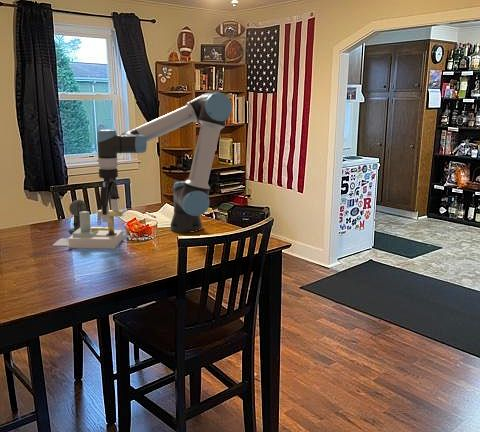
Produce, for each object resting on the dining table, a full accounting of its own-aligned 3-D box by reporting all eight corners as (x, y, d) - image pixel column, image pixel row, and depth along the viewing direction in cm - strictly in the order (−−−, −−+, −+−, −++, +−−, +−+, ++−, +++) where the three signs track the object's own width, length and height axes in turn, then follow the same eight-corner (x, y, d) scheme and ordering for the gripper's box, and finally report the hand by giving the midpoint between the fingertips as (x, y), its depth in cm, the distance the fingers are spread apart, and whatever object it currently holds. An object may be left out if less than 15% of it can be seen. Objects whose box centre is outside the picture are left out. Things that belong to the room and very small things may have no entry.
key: (123, 233, 202) (122, 210, 199) (122, 234, 200) (121, 211, 197) (92, 232, 202) (91, 209, 199) (90, 234, 200) (89, 211, 197)
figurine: (86, 234, 214) (84, 202, 210) (64, 233, 214) (62, 201, 211) (92, 229, 222) (90, 198, 219) (71, 228, 223) (69, 197, 219)
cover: (98, 231, 205) (97, 209, 203) (91, 237, 196) (90, 215, 194) (80, 230, 205) (78, 209, 203) (72, 236, 196) (71, 214, 194)
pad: (78, 239, 207) (78, 238, 207) (70, 246, 197) (69, 245, 197) (61, 238, 207) (61, 238, 207) (52, 245, 197) (52, 245, 197)
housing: (123, 238, 209) (122, 229, 208) (114, 248, 195) (114, 239, 194) (80, 237, 209) (79, 228, 208) (68, 247, 195) (68, 238, 194)
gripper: (107, 163, 206) (109, 210, 211) (89, 172, 182) (92, 225, 187) (124, 164, 206) (126, 211, 211) (108, 172, 182) (111, 225, 187)
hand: (110, 217), depth 199 cm, fingers open, 13 cm apart
